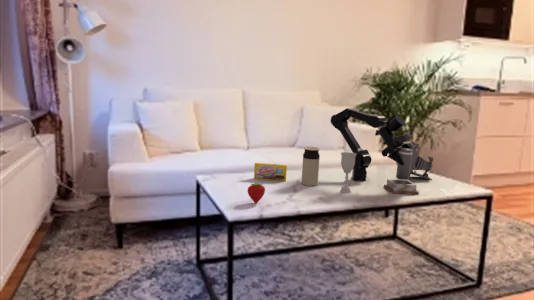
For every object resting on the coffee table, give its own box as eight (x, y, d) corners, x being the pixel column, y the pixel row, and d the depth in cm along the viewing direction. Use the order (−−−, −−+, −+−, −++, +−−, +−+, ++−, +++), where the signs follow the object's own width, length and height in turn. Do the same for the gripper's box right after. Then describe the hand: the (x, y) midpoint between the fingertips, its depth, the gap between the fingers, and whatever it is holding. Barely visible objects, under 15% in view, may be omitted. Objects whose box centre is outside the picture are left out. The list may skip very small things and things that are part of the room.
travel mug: (320, 185, 208) (322, 149, 205) (305, 186, 206) (307, 149, 203) (313, 181, 216) (316, 146, 213) (299, 182, 214) (301, 146, 211)
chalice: (354, 190, 202) (357, 153, 199) (352, 194, 196) (355, 155, 193) (339, 188, 205) (341, 151, 202) (336, 192, 198) (339, 153, 195)
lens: (396, 178, 203) (399, 150, 201) (395, 175, 209) (398, 147, 207) (409, 180, 202) (413, 151, 199) (408, 177, 208) (412, 149, 205)
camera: (430, 187, 230) (444, 152, 227) (400, 177, 231) (413, 142, 227) (424, 182, 241) (437, 149, 238) (395, 173, 242) (408, 139, 238)
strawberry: (244, 201, 177) (245, 178, 176) (260, 200, 181) (261, 177, 179) (250, 205, 172) (251, 181, 170) (267, 204, 176) (268, 180, 174)
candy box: (253, 179, 216) (254, 163, 215) (254, 178, 218) (254, 162, 217) (285, 181, 215) (286, 165, 213) (286, 180, 217) (286, 164, 215)
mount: (392, 193, 200) (393, 185, 199) (383, 186, 212) (384, 178, 211) (418, 194, 201) (419, 185, 200) (408, 187, 213) (409, 179, 212)
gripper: (389, 128, 198) (408, 156, 192) (410, 126, 210) (429, 152, 204) (373, 142, 205) (391, 169, 199) (394, 140, 218) (412, 165, 212)
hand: (406, 164), depth 203 cm, fingers closed on lens, 6 cm apart
